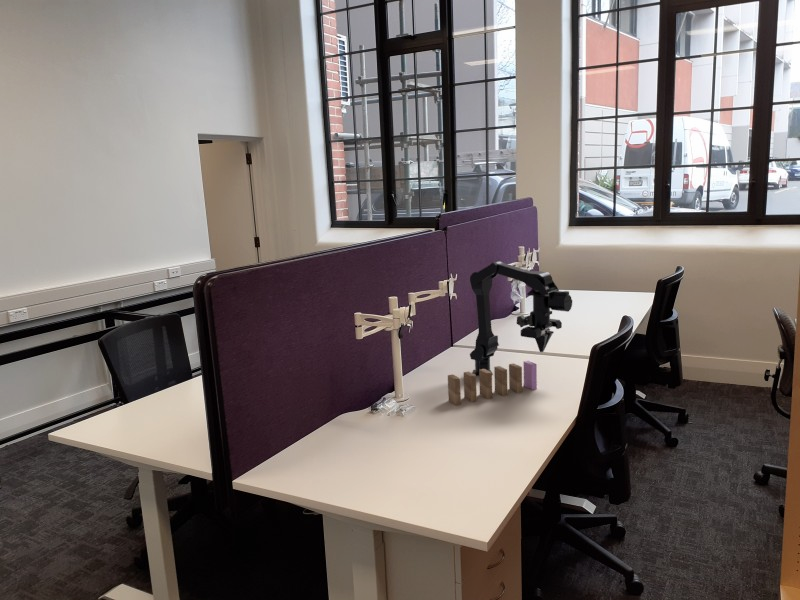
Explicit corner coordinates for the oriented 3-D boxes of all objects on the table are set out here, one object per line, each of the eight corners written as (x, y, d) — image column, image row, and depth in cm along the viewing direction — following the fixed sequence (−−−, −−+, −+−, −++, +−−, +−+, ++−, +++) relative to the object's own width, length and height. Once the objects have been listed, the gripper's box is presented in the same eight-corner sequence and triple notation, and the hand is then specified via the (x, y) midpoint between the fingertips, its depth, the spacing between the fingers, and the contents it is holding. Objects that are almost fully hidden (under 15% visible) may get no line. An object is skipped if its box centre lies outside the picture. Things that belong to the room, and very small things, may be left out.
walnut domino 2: (469, 396, 210) (468, 371, 208) (476, 401, 205) (476, 375, 203) (464, 397, 209) (463, 372, 207) (471, 402, 204) (470, 376, 203)
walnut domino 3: (484, 393, 212) (484, 368, 210) (492, 397, 207) (491, 372, 205) (479, 394, 211) (479, 369, 209) (487, 398, 206) (486, 373, 205)
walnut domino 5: (514, 387, 216) (513, 363, 214) (522, 391, 212) (521, 366, 210) (509, 388, 215) (508, 364, 214) (517, 392, 211) (516, 367, 209)
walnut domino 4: (499, 390, 214) (499, 365, 212) (507, 394, 209) (507, 369, 208) (494, 391, 213) (494, 366, 212) (502, 395, 209) (502, 370, 207)
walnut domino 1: (453, 399, 207) (452, 374, 206) (460, 404, 203) (460, 378, 201) (448, 400, 207) (447, 375, 205) (455, 405, 202) (454, 379, 200)
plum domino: (528, 384, 218) (528, 360, 217) (536, 388, 214) (536, 364, 212) (523, 385, 218) (523, 361, 216) (531, 389, 213) (531, 365, 211)
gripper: (534, 301, 224) (535, 342, 227) (506, 311, 211) (507, 354, 214) (562, 304, 217) (562, 347, 220) (535, 314, 204) (535, 359, 207)
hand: (541, 351), depth 215 cm, fingers closed
